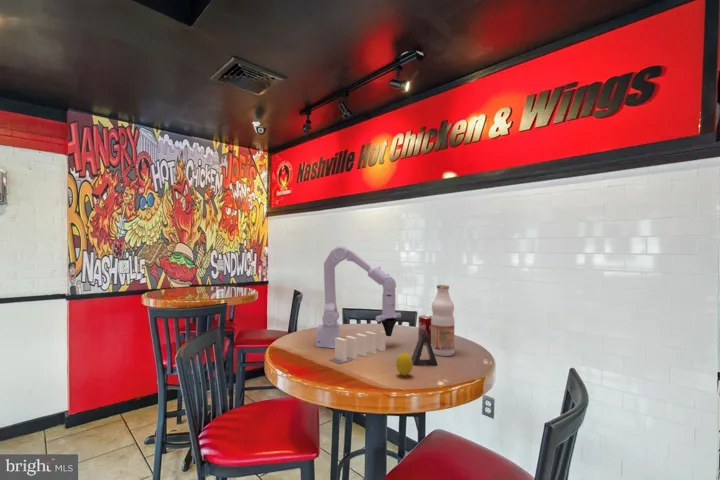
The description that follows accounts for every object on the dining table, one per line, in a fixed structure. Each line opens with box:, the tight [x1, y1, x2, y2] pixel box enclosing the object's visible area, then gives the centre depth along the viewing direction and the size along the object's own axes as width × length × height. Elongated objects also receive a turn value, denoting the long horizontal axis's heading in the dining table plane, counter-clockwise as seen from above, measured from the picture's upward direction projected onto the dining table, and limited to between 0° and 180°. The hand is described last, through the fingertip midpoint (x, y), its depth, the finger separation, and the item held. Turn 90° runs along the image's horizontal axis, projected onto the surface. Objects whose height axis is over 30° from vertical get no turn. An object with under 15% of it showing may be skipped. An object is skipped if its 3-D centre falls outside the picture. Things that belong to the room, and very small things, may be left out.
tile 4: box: [345, 335, 358, 360], centre depth 140 cm, size 2×5×8 cm, turn 44°
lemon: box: [395, 351, 414, 377], centre depth 121 cm, size 6×6×8 cm
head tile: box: [373, 329, 386, 352], centre depth 152 cm, size 2×5×8 cm, turn 44°
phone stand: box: [411, 329, 439, 367], centre depth 135 cm, size 9×6×12 cm, turn 89°
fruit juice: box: [431, 284, 455, 357], centre depth 148 cm, size 9×9×28 cm
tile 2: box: [364, 331, 377, 355], centre depth 148 cm, size 2×5×8 cm, turn 44°
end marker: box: [329, 357, 353, 365], centre depth 137 cm, size 6×6×1 cm
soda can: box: [417, 314, 432, 346], centre depth 163 cm, size 7×7×12 cm
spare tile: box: [334, 337, 348, 363], centre depth 137 cm, size 2×5×8 cm, turn 44°
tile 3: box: [355, 333, 368, 357], centre depth 144 cm, size 2×5×8 cm, turn 44°
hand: (388, 335), depth 156 cm, fingers closed
